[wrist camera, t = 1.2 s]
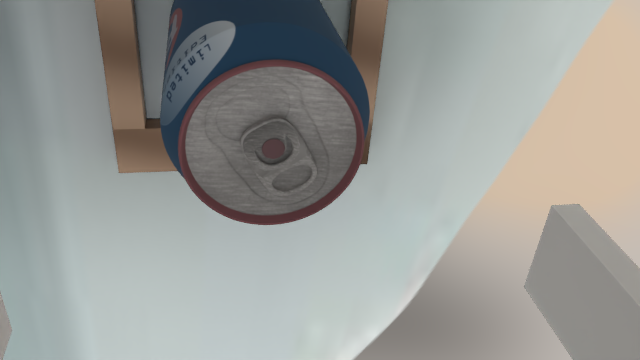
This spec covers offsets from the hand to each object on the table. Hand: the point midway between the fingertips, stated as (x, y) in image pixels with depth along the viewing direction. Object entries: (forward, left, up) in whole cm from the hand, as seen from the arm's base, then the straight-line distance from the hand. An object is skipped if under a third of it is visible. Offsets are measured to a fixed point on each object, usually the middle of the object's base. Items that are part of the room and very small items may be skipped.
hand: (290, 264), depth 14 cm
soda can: (0, 0, -17) cm, 17 cm away
